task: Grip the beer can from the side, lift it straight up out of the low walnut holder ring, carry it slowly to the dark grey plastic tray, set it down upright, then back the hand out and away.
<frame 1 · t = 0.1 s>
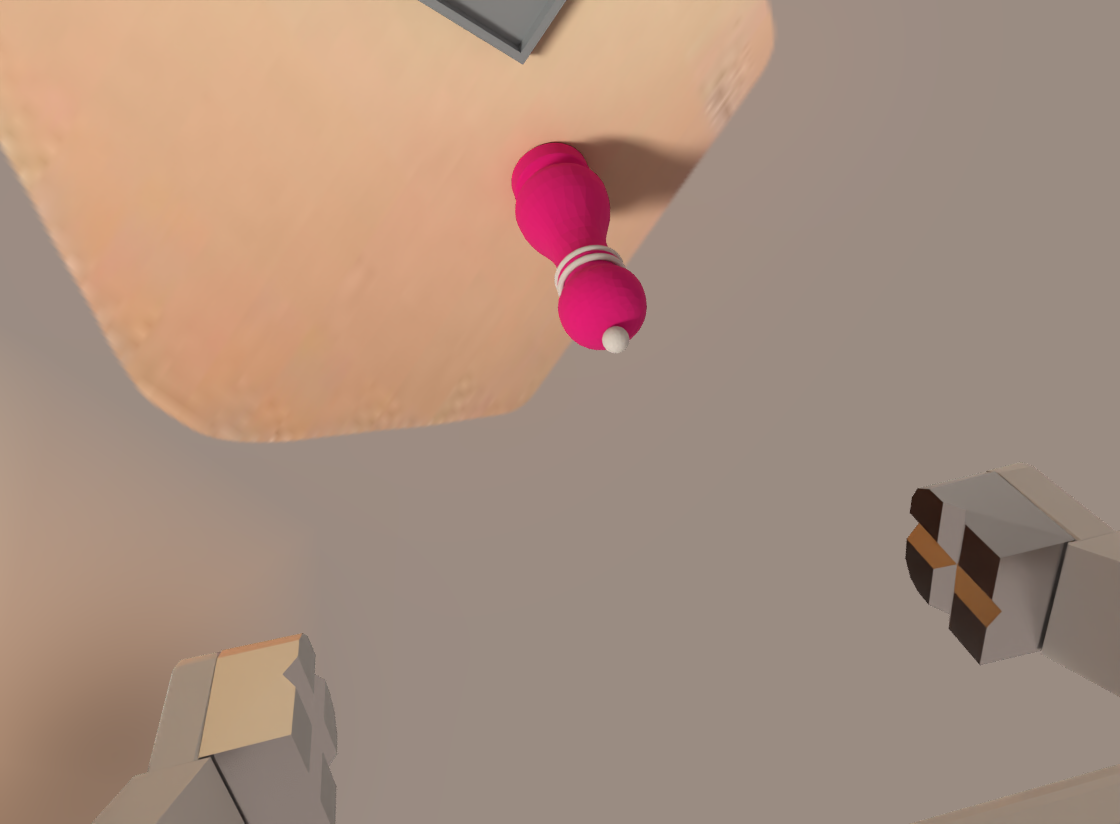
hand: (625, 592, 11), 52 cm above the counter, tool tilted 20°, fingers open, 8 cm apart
pepper mill: (548, 175, 68), on the counter
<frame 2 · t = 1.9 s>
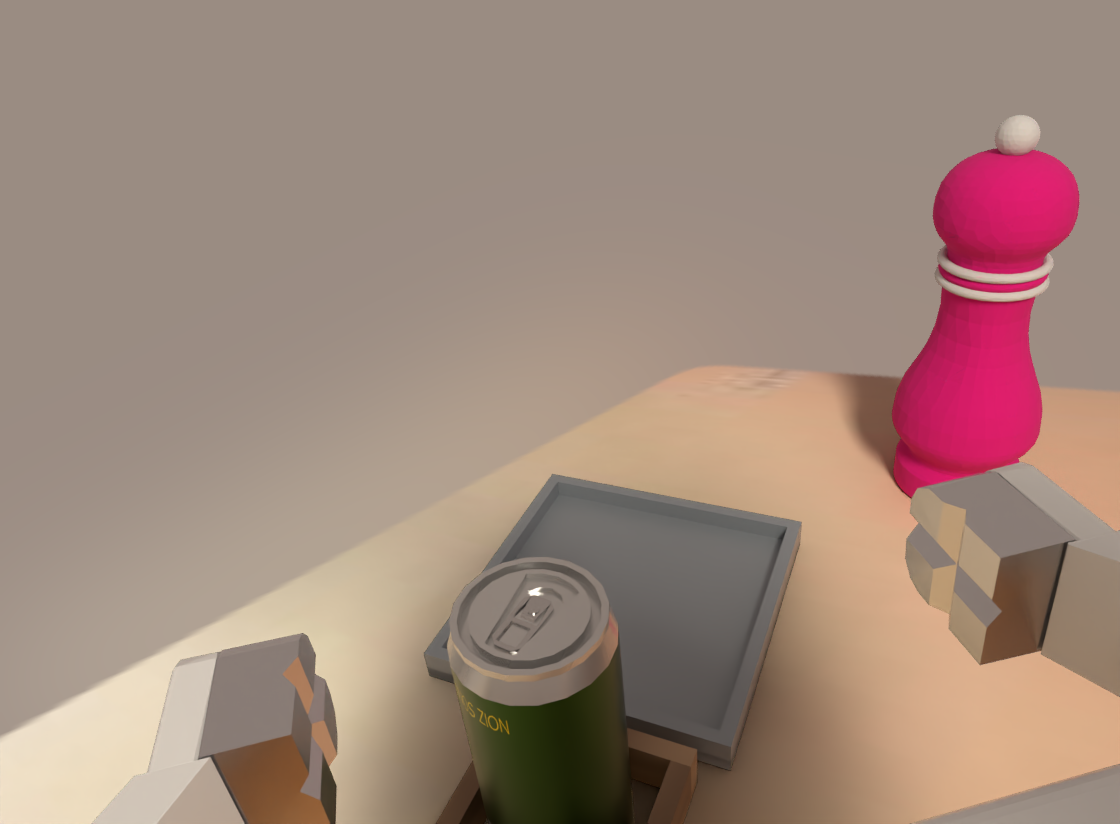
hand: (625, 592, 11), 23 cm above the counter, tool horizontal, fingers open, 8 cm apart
pepper mill: (951, 482, 48), on the counter
tray: (625, 605, 42), on the counter
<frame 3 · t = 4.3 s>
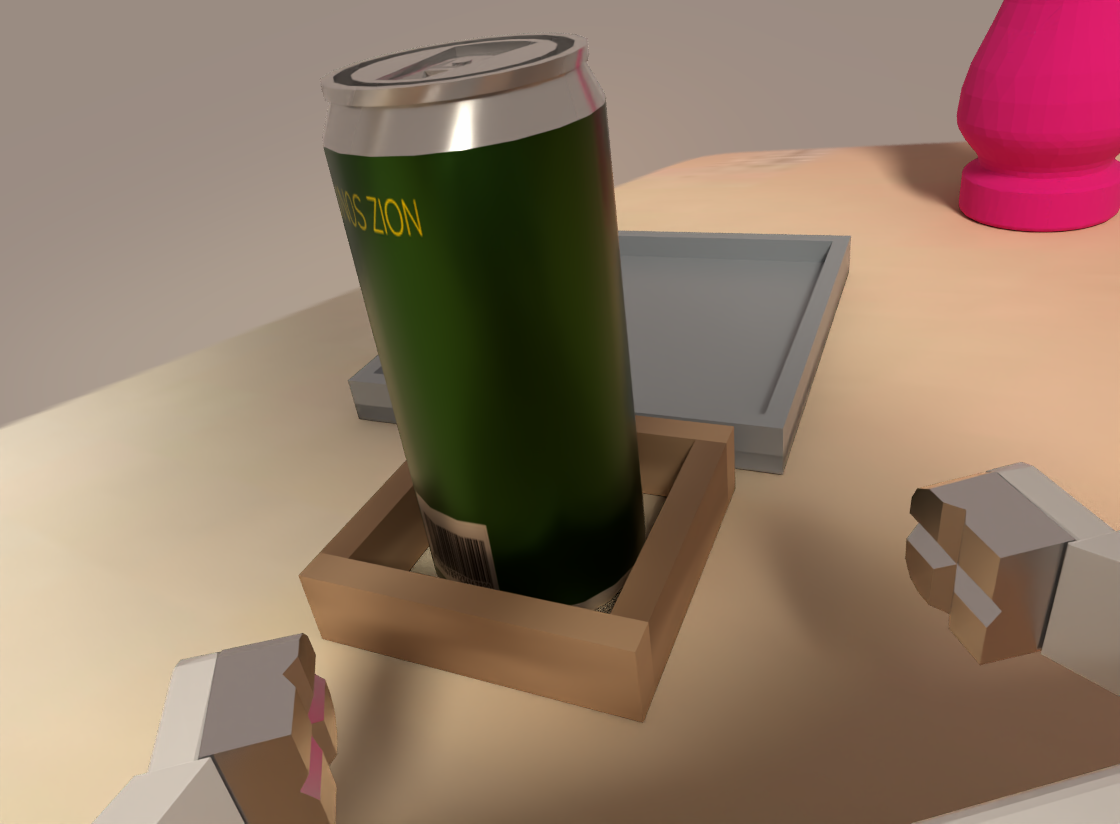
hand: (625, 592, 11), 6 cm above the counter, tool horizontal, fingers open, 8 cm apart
can holder: (542, 558, 22), on the counter
pepper mill: (1034, 212, 38), on the counter
beer can: (544, 564, 22), resting in can holder
tray: (624, 338, 32), on the counter
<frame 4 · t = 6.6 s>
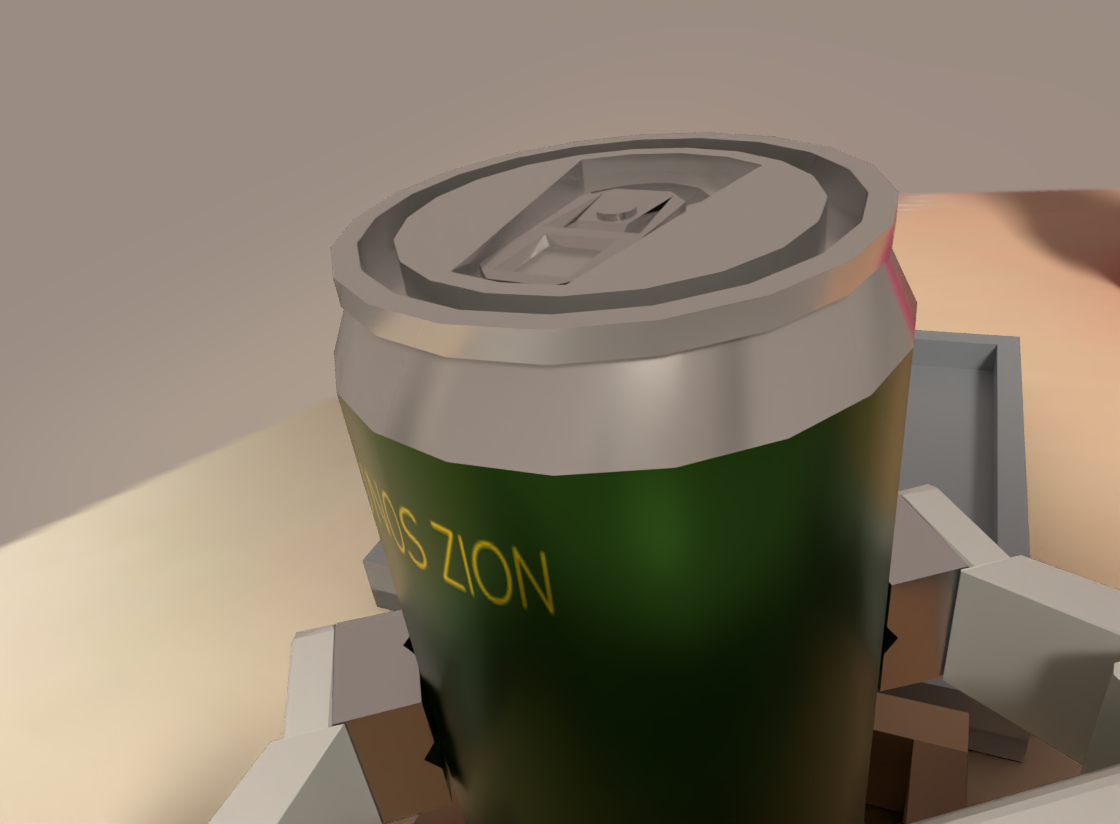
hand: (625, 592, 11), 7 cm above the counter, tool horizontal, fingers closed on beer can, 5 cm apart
tray: (729, 481, 24), on the counter
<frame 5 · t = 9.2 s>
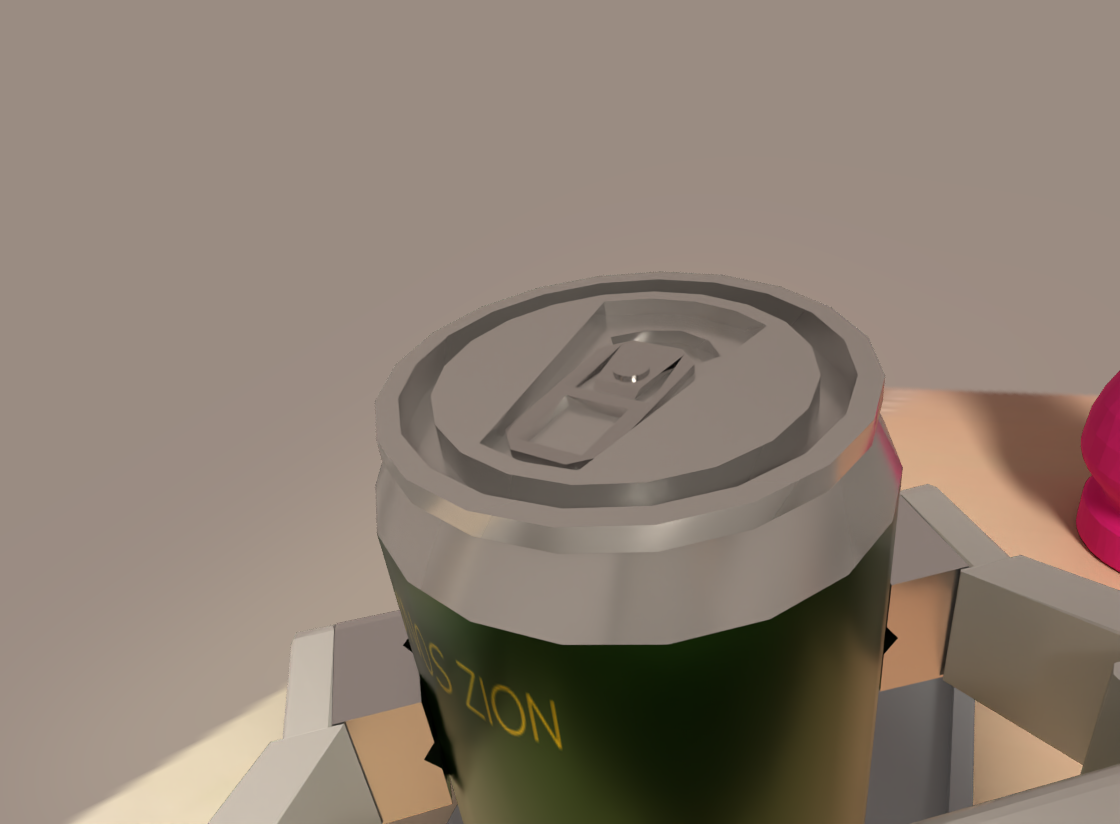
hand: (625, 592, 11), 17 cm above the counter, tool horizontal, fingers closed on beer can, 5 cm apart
tray: (727, 760, 28), on the counter
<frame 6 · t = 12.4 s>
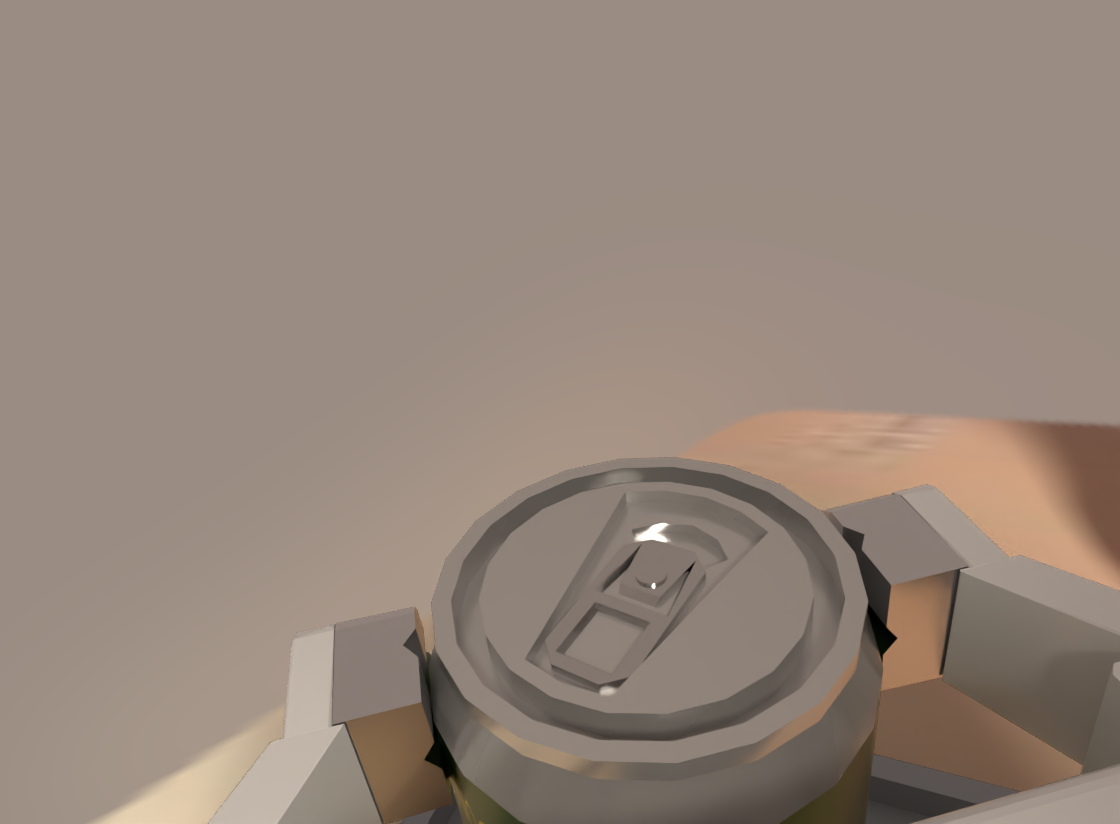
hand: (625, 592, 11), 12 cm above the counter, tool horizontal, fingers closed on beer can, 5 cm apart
when the fingers open (9 cm above the counter, at t = 14.1 s): beer can stays where it is, resting on tray.
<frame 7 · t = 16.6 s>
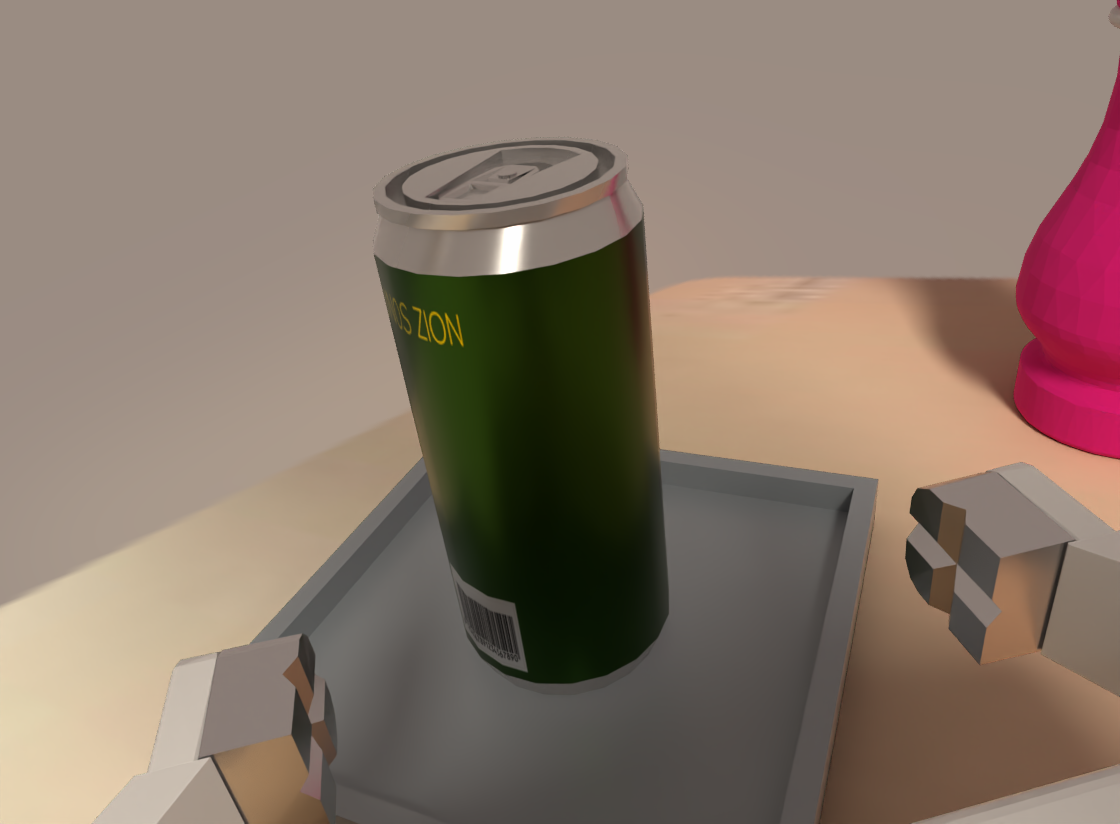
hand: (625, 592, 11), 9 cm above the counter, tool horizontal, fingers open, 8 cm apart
pepper mill: (1114, 415, 29), on the counter
beer can: (570, 628, 23), resting on tray
tray: (565, 638, 23), on the counter
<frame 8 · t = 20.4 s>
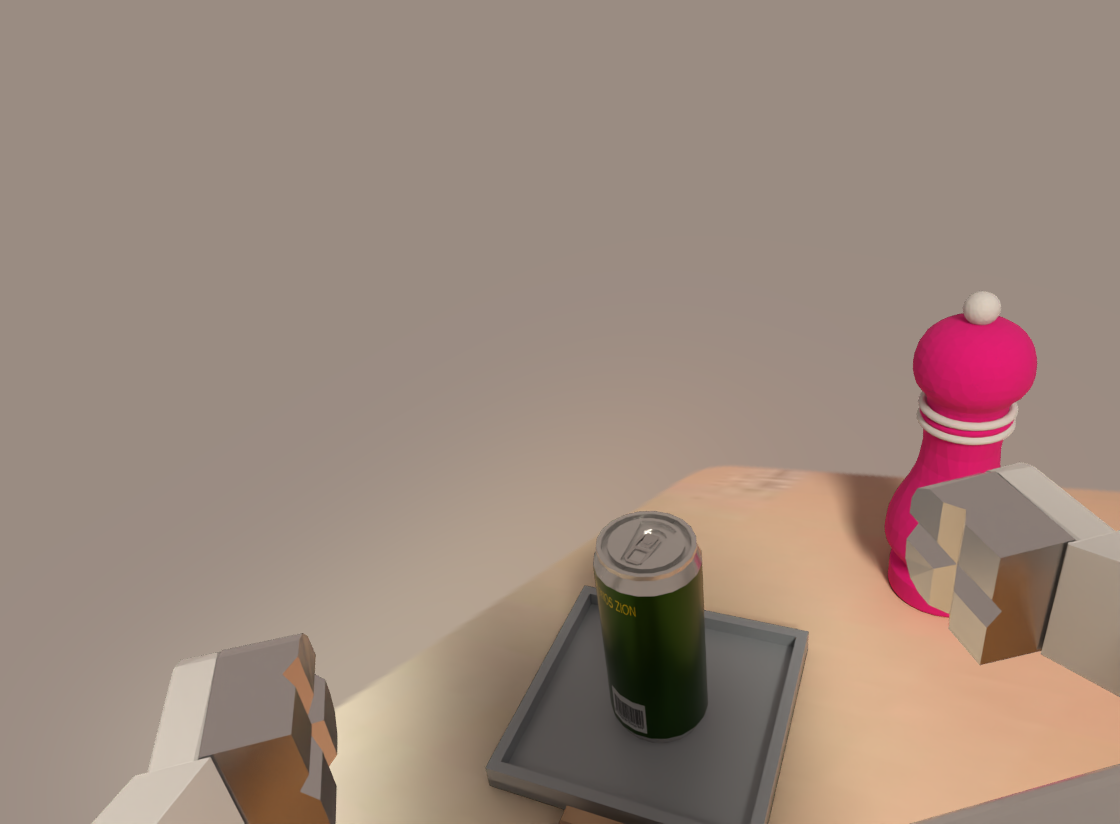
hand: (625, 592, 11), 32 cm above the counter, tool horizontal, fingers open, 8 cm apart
pepper mill: (939, 585, 54), on the counter
beer can: (660, 709, 48), resting on tray
tray: (657, 713, 48), on the counter
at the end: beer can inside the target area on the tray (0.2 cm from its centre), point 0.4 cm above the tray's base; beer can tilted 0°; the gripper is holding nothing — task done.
